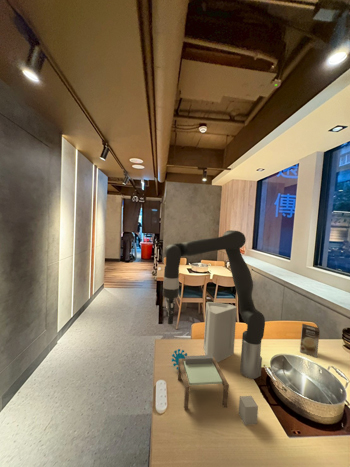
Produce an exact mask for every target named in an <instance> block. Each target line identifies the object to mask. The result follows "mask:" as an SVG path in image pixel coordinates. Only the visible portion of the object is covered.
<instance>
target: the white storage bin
mask: <svg viewBox="0 0 350 467" xmlns="http://www.w3.org/2000/svg"><path fill="white" fill-rule="evenodd" d="M237 308H238V306H236V305H232V304H229V303H221V302H215V301H214V302H212V301H207V302H205V319H204V332H203V333H204V336H203V351H204V355H211V356H212V358H215V360H216V361H217V363H220V362H222V361H223V360H225V359H227V358H229V357H231V356H233V355H234V354H235V353H234V352H235V339H236V337H235V336H236V326H237V324H236V321H237Z"/></svg>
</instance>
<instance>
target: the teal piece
mask: <svg viewBox="0 0 350 467" xmlns="http://www.w3.org/2000/svg"><path fill="white" fill-rule="evenodd" d="M185 356H188V353H187V352H185V350H184V349H182V350H181V348H178V349H177V350H174V351H173V353H172V354H171V357H173V358H171V362H175V363H173V364H172V365H173V368H174V367H176V370H177V371H178V364H179V359H185ZM184 368H185V367H184Z"/></svg>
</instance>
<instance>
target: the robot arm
mask: <svg viewBox="0 0 350 467" xmlns="http://www.w3.org/2000/svg"><path fill="white" fill-rule="evenodd" d="M246 240H247V239H246V236H245V234H244V233H243V232H241V231H240V230H234V229H233V230H226V231H225V232H224V233H223V234H222V236H218V237H212V238H200V239H196V240H190V241H186V242H178V243H170V244H168V245H166V247H165V248H164V256H165V266H164V269H163V270H164V272H163V284H162V297H164V298H165V308H166V314H165V315H166V317H167V324H168V325H173V323H174V317H175V311H176V309H175V306H176V301H175V299H176V298H179V294H180V293H179V291H180V290H179V286H180V280H179V279H180V278H179V277H180V275H179V274H180V264H181V259H182V257H185V256H186V257H191V256H193V257H194V256H197V255H201V254H206V253H210V252H215V251H223V250H225V253H226V256H227V259H228V263H229V264H228V265H229V268H230V271H231V272H230V273H231V276H232V280H233V284H234V286H235V288H234V289H235V291H236V295H237V298H238V304H239V310H240V311H239V312H240V317H241V319H242V321H243V323H244V324H246V327H247V328H246V330H244V331H243V332H242V335H241V336H242V338H241V352H240V373H241V374H242V375H243V376H244V377H246V378H248V379H251V380H253V379H258V378H259V377H261V376H262V363H263V357H262V355H261V351H262V340H263V338H264V335H265V328H266V327H265V326H266V318H265V315H264V314H263V312H261V311H260V310H258V309H257V308H256V306H255V304H254V301H253V289H254V281H253V278H252V273H251V270H250V268H249V266H248V265H247V263H246V261H245V259H244V258H243V255H242V253H241V248H243V247H244V246H245V244H246V242H247V241H246Z"/></svg>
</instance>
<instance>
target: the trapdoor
mask: <svg viewBox="0 0 350 467" xmlns="http://www.w3.org/2000/svg"><path fill="white" fill-rule="evenodd" d="M184 356H185V355H184ZM184 367H185V372H186V376H187V379H188V383H189V386H205V385H222V380H221V378H220V376H219V374H218V372H217V370H216V368H215V366H214V364H213V358H212V356H211V355H205V354H203V355H200V354H199V355H187V356H185V361H184Z"/></svg>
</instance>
